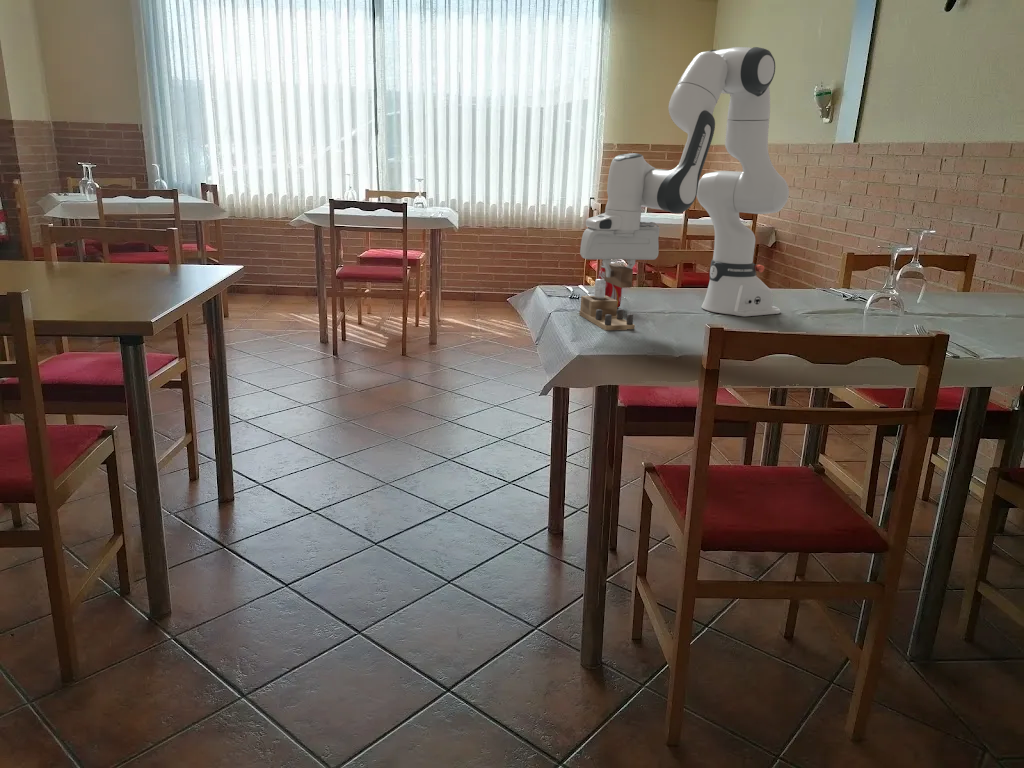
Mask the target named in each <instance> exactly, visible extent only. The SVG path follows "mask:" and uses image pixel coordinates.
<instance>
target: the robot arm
mask: <svg viewBox="0 0 1024 768" xmlns="http://www.w3.org/2000/svg"><path fill="white" fill-rule="evenodd" d="M775 73H776V60H775V58H774V56H773V54H772V52H771V51H770V50H769V49H767V48H764V47H757V46H754V47H748V46H747V47H746V46H732V47H729V48H722V49H711V50H707V51H705V50H704V51H701V52H699V53H697V54H696V55H695V56H693V59H692V60H691V61H690V63H689V64H688V65H687V67H686V68H685V70H684V72H683V73H682V75H681V76H680V78H679V80H678V81H677V84H676V86H675V88H674V90H673V92H672V93H671V96H670V99H669V102H668V114H669V116H670V119H671V120H672V122H673V123H674V125H676V126H677V127H678V128H679V129H680V130H682V131H683V132H684V133H686V134H687V138H686V142H685V145H684V148H683V151H682V154H681V157H680V160H679V163H678V164H677V166H675V167H673V169H660V168H656V167H655V166H652V165H651V164H649V162H647V161H646V159H645V158H644V155H643V154H640V153H633V152H632V153H631V152H629V153H622V154H621V153H620V154H618V155H616V156H615V157H613V158H612V160H611V163H610V166H609V171H608V174H607V175H608V177H607V183H606V184H607V185H606V193H607V202H606V205H605V209H604V213H603V212H602V213H601V214H597V215H595V216H592V217H588V218H586V220H585V227H586V229H584V231H583V233H582V236H581V241H580V248H579V255H580V256H581V258H582V259H585V260H602V262H601V263H602V265H604V267H605V269H606V277H614V270H611V269H610V266H609V264H611V263H612V260H626V263H627V265H626V267H628V268H630V269H633V268H634V266H635V265H636V260H637V261H638V260H645V261H646V260H656V259H657V258H658V257H659V253H660V252H659V237H660V229H661V228H660V227H659V225H658V224H656V222H653V221H649V222H648V221H647V222H646V221H642V220H641V219H642V217H641V216H642V207H643V208H648V209H651V210H654V209H655V210H661V211H665V212H670V213H672V214H681V213H682V214H683V213H684V212H685V211H687V210H688V209H689V208H690V207H691V206H692V205H693V203H694V202H695V200H697V202H698V203H699V204H700V206H701V207H703V208H704V210H705V211H706V212H707V214H708V216H709V217H710V220H711V222H712V224H713V230H714V243H713V245H714V246H713V247H714V248H713V254H712V255H713V256H712V259H711V261H710V268H709V282H708V286H707V290H706V294H705V296H704V300H703V302H702V305H701V308H702V309H703V310H705V311H708V312H713V313H719V314H725V315H733V316H738V317H751V316H752V317H753V316H763V315H765V316H766V315H775V314H777V315H778V314H780V313H781V310H780V308H779V307H777V306H775V305H774V295H773V291H772V289H771V288H770V287H768V286H767V285H766V284H765V282H763V281H762V280H761V279H760V278H759V277H758V276H757V272H759V273H763V272H764V271H765V266H764V265H762V264H757V265H756V264H755V263H754V262H753V261H754V254H755V247H756V235H755V233H754V231H753V230H752V229H751V228H749V227H747V226H746V225H745V224H743V223H742V220H741V218H740V213H746V214H753V215H766V214H775V213H778V212H781V210H782V209H783V208H784V207H785V206H786V204H787V202H788V200H789V195H790V187H789V185H788V182H787V180H786V179H785V178H784V177H783V176H782V175H781V174H780V173H778V171H777V169H776V168H775V167H774V165H773V163H772V160H771V158H770V154H769V128H770V125H769V124H770V117H771V92H770V85H771V83H772V82H773V80H774V76H775ZM722 94H727V95H730V97H729V103H728V108H727V109H728V110H727V118H726V119H727V120H726V129H725V142H724V147H725V149H726V152H727V153H728V154H729V155H730V156H731V157H733V158H734V159H736V160H738V162H739V163H740V165H741V167H742V171H733V170H732V171H731V170H718V171H711V172H705V173H704V174H703V175H702V172H703V169H704V166H705V162H706V159H707V157H708V153H709V150H710V147H711V143H712V141H713V138H714V133H715V129H716V120H715V117H714V115H713V114H714V110H715V108H716V105H717V103H718V102H719V99H720V97H721V95H722ZM701 175H702V176H701Z"/></svg>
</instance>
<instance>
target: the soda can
mask: <svg viewBox="0 0 1024 768" xmlns="http://www.w3.org/2000/svg"><path fill="white" fill-rule="evenodd" d="M604 277H605V267H604V265H603V264H601V267H600V269H599V271H598V275H597V279H604ZM622 295H623V288H620V287H618V286H615V285H613V284H611V283H608V282H606V287H605V296H608V297H610V298H613V299H615V300H617V301H618V302H617V309H619V308H620V307H621V303H622Z"/></svg>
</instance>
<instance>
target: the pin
mask: <svg viewBox="0 0 1024 768" xmlns="http://www.w3.org/2000/svg"><path fill="white" fill-rule="evenodd" d="M594 280H595V281H594V293H593V294H594V295H593V296H594V300H605V287H606V281H604V279H598V278H596V279H594Z"/></svg>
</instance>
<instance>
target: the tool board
mask: <svg viewBox="0 0 1024 768" xmlns="http://www.w3.org/2000/svg"><path fill="white" fill-rule="evenodd" d="M580 299H581V300H580V310H579V313H578V315H579V316H581V317H582V318H584V319H586V320H587V321H589V322H591V323H592V324H594V325H595V326H597V327H599V328H601V329H602V330H604V331H628V330H627V329H634V330H635V328H636V327H635V325H636V324H634V314H633V313H627V314H626V319H624V309H623V308H617V302H618V301H617V300H615V299H613V298H610V297H608V296H605V300H594V295H581V296H580Z"/></svg>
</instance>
